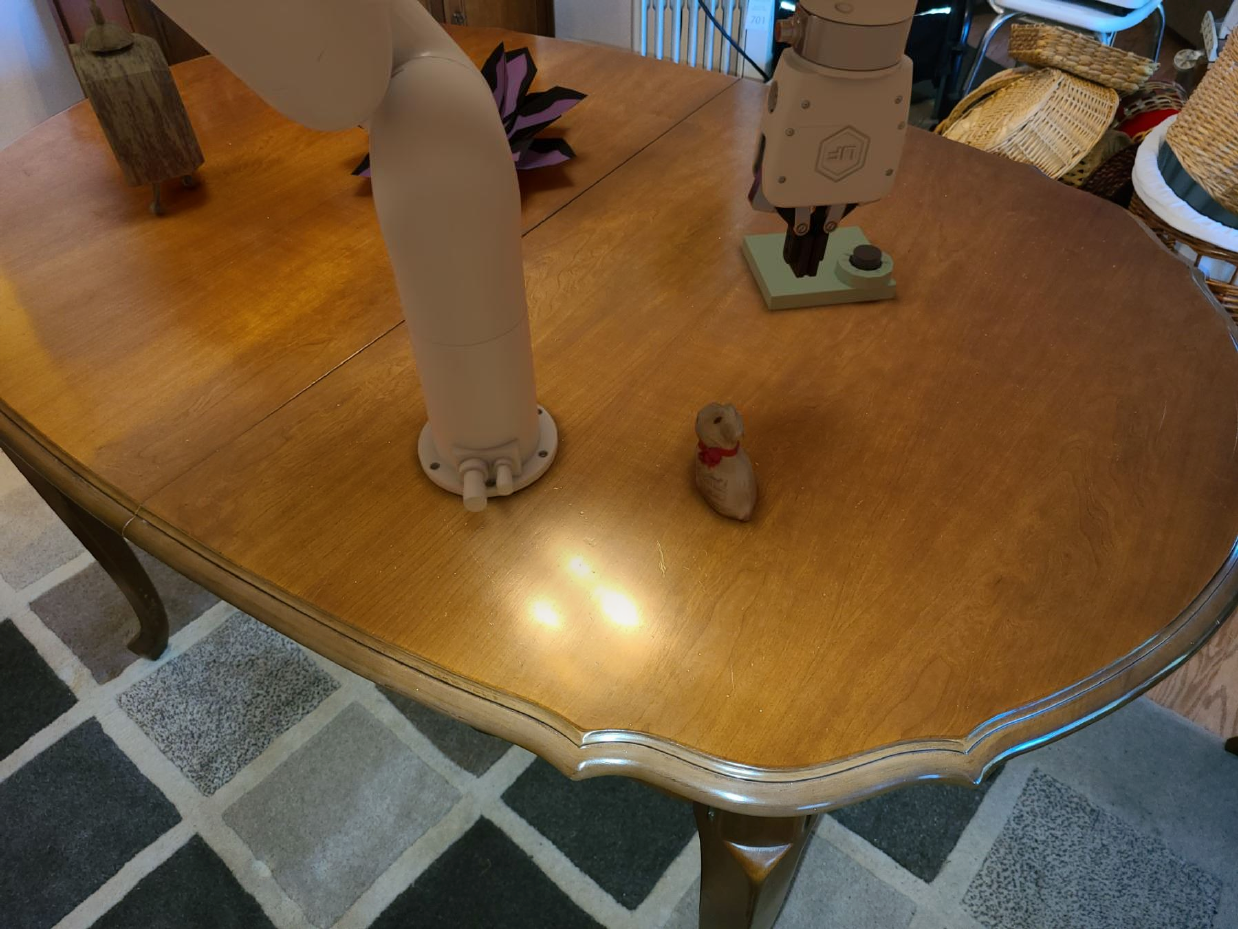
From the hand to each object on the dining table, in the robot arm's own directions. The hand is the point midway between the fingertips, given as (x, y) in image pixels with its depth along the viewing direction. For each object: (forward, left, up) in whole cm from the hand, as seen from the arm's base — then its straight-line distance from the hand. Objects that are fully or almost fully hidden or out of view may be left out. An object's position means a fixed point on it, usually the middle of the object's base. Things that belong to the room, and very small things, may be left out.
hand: (800, 267), depth 70 cm
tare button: (+17, -14, -12) cm, 25 cm away
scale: (+20, -10, -15) cm, 27 cm away
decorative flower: (+53, +28, -15) cm, 62 cm away
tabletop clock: (+51, +66, -15) cm, 85 cm away
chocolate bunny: (-10, +8, -15) cm, 20 cm away
